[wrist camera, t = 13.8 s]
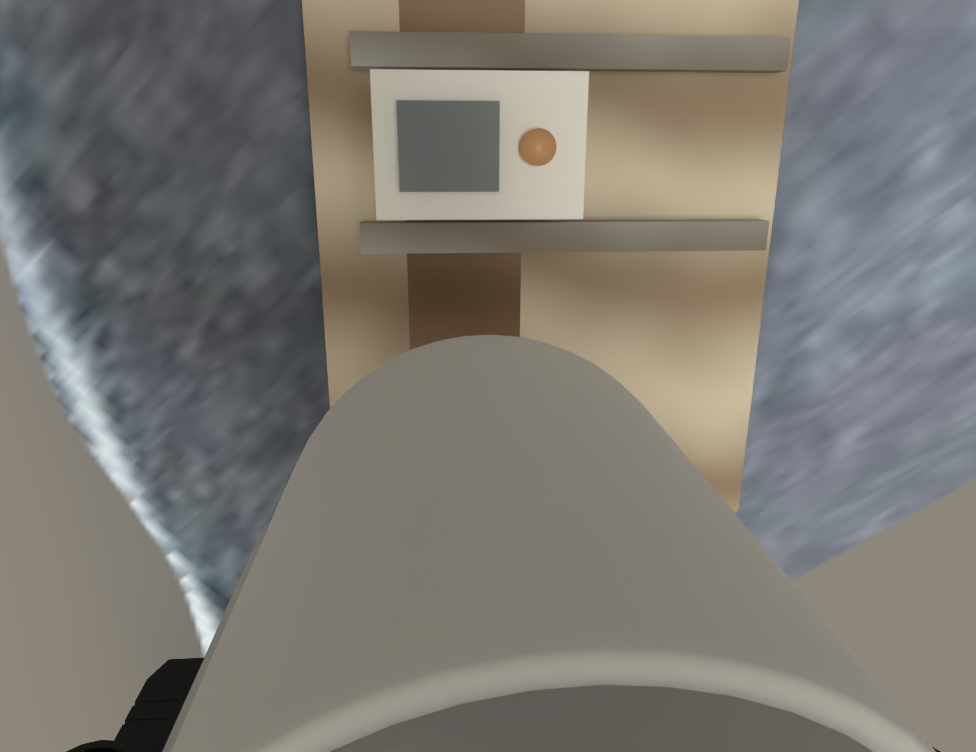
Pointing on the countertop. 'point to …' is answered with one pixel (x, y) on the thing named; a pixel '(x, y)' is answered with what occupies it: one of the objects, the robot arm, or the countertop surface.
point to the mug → (520, 585)
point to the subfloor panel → (607, 199)
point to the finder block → (479, 144)
